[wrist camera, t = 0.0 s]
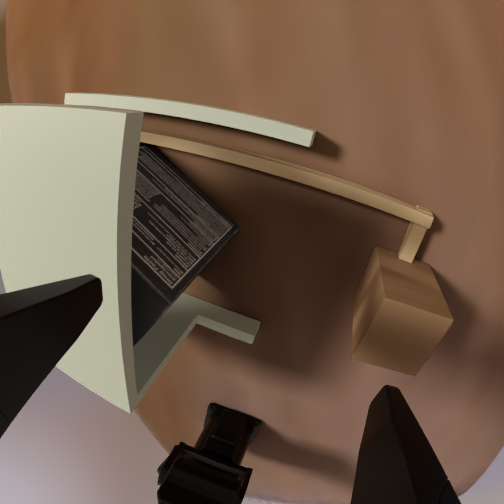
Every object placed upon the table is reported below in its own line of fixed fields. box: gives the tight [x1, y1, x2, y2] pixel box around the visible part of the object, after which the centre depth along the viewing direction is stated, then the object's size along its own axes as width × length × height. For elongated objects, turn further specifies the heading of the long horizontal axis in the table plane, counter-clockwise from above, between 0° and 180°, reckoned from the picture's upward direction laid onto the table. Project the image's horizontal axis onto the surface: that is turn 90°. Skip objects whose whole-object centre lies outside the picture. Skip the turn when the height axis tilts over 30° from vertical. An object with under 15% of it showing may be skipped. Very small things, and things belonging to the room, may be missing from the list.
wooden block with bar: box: [140, 128, 454, 376], centre depth 20 cm, size 12×29×7 cm, turn 78°
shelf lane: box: [0, 92, 316, 414], centre depth 19 cm, size 17×21×12 cm
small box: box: [131, 142, 239, 347], centre depth 20 cm, size 11×6×10 cm, turn 49°
